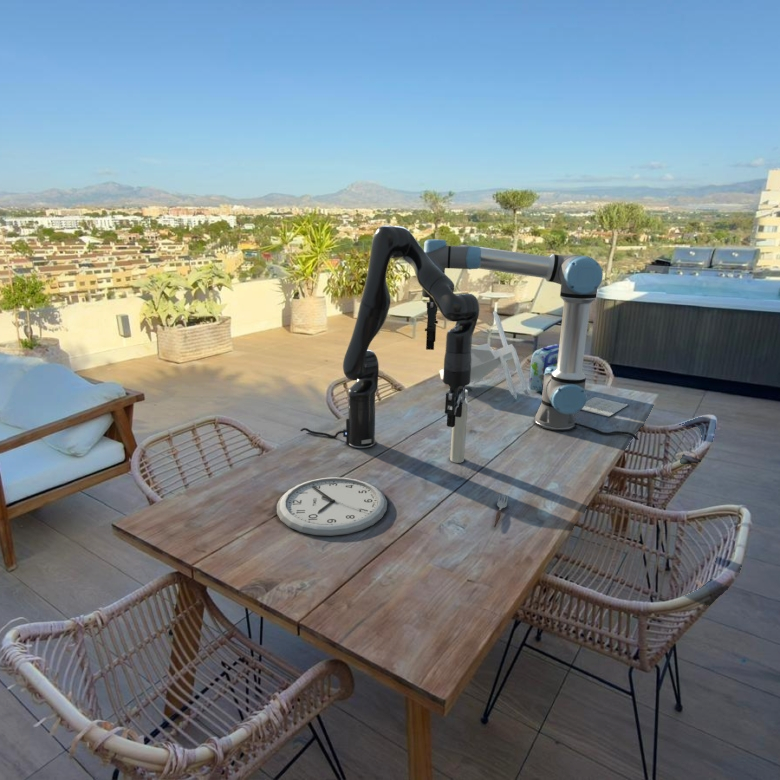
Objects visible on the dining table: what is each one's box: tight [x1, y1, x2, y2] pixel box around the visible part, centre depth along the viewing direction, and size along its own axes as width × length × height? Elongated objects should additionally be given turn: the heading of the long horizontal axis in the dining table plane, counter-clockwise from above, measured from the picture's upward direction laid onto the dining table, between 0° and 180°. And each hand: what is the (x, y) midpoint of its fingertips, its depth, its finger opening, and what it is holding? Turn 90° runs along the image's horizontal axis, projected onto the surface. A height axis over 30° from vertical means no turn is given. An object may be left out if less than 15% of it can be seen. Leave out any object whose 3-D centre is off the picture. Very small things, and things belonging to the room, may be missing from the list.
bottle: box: [449, 398, 469, 464], centre depth 169 cm, size 4×4×24 cm
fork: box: [493, 493, 509, 528], centre depth 139 cm, size 3×16×2 cm, turn 160°
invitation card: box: [580, 396, 629, 418], centre depth 226 cm, size 21×1×15 cm
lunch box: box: [528, 344, 559, 393], centre depth 247 cm, size 26×11×21 cm, turn 134°
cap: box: [465, 388, 469, 398], centre depth 165 cm, size 4×4×2 cm
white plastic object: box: [438, 310, 531, 400], centre depth 245 cm, size 37×45×31 cm
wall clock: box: [276, 476, 388, 537], centre depth 142 cm, size 30×2×30 cm
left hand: (454, 421), depth 150 cm, fingers open, 8 cm apart
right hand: (430, 345), depth 188 cm, fingers open, 13 cm apart
